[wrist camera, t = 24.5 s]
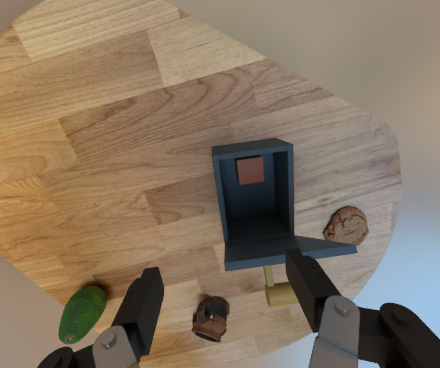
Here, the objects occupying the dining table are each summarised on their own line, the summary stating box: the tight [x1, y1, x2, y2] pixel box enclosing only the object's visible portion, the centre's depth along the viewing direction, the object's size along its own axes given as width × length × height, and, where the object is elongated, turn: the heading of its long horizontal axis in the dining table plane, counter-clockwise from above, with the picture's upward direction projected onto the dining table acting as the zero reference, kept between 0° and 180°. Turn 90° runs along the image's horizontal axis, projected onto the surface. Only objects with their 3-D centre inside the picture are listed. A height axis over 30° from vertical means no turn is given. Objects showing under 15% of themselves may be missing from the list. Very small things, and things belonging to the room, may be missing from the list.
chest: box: [212, 138, 294, 245], centre depth 39 cm, size 17×13×9 cm
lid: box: [224, 235, 357, 307], centre depth 28 cm, size 18×13×5 cm
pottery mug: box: [192, 297, 229, 342], centre depth 51 cm, size 12×10×8 cm
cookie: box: [324, 207, 369, 246], centre depth 46 cm, size 10×11×3 cm
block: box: [234, 155, 264, 185], centre depth 39 cm, size 5×5×5 cm
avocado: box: [59, 286, 107, 344], centre depth 45 cm, size 8×8×12 cm
